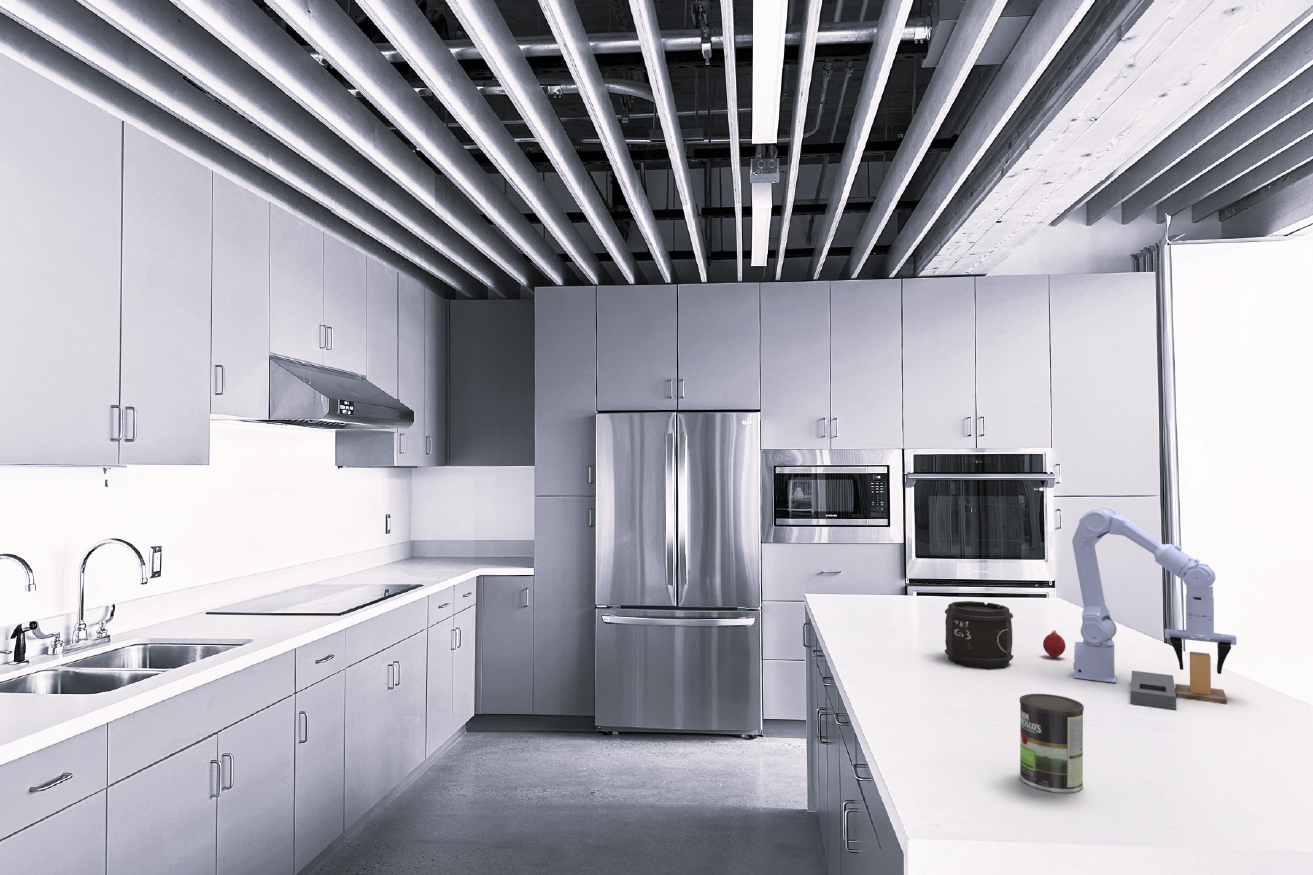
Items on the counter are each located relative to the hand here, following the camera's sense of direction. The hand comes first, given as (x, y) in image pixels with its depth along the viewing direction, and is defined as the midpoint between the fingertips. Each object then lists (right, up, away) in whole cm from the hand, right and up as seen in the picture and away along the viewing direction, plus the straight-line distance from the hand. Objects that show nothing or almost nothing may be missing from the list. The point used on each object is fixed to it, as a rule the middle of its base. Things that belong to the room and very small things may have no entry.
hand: (1200, 670), depth 203 cm
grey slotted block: (-12, -6, 0) cm, 13 cm away
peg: (0, -5, 0) cm, 5 cm away
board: (0, -6, 0) cm, 6 cm away
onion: (-18, -7, +37) cm, 41 cm away
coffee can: (-62, -4, -55) cm, 83 cm away
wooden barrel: (-41, -7, +32) cm, 53 cm away
